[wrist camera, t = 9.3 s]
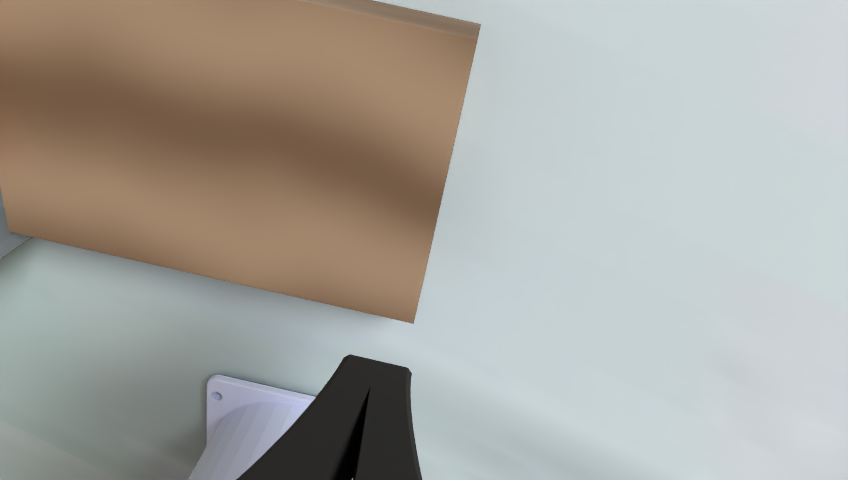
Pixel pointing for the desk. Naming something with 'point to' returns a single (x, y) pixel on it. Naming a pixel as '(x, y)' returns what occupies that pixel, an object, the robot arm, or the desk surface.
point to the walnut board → (237, 137)
